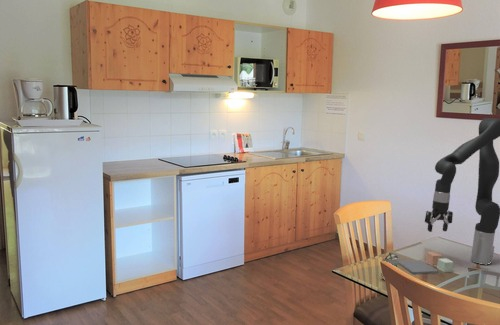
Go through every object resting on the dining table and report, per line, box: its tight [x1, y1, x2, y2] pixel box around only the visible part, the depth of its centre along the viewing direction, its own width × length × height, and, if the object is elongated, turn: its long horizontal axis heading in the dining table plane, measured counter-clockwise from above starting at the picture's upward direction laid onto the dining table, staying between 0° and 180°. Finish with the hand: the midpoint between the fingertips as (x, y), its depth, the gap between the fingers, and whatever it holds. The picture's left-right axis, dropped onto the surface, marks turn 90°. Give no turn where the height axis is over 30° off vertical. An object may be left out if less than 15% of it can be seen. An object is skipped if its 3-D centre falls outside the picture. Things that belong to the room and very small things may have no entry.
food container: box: [381, 251, 401, 277], centre depth 203 cm, size 12×6×10 cm, turn 148°
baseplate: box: [398, 259, 439, 275], centre depth 217 cm, size 14×14×1 cm
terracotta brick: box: [425, 251, 442, 266], centre depth 225 cm, size 5×5×5 cm
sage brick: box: [436, 257, 454, 273], centre depth 216 cm, size 5×5×5 cm
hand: (437, 231), depth 223 cm, fingers open, 8 cm apart
